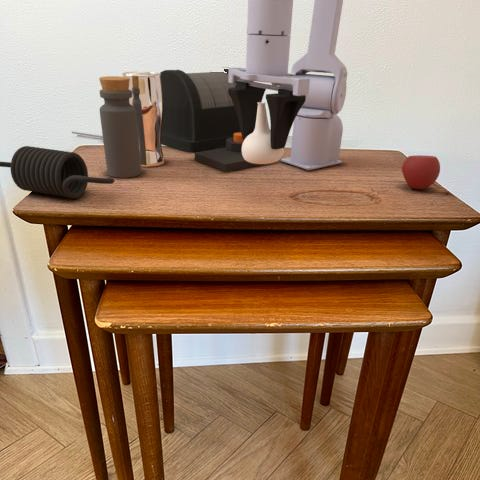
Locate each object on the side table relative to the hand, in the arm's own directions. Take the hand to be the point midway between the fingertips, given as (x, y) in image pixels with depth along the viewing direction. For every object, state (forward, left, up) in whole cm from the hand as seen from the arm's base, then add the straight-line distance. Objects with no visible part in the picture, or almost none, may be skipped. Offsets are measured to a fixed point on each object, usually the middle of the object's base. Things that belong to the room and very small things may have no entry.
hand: (262, 143), depth 68 cm
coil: (+22, -20, -2) cm, 30 cm away
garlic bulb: (0, 0, -3) cm, 3 cm away
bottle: (+11, -23, -8) cm, 27 cm away
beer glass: (+4, -27, -8) cm, 29 cm away
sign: (+7, -58, -8) cm, 59 cm away
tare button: (-14, -22, -6) cm, 27 cm away
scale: (-10, -20, -8) cm, 24 cm away
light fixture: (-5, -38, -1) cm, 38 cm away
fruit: (-25, +8, -6) cm, 27 cm away
